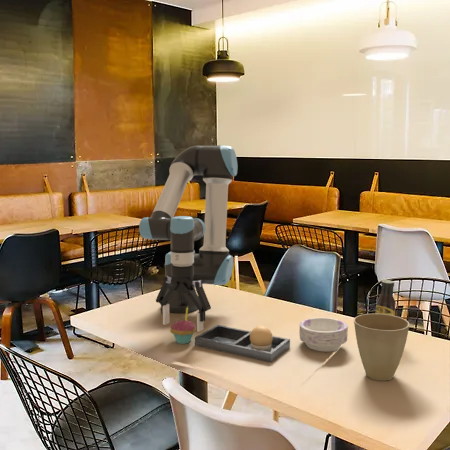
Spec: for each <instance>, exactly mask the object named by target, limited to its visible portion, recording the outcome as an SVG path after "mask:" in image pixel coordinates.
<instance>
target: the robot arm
mask: <svg viewBox="0 0 450 450" xmlns="http://www.w3.org/2000/svg"><path fill="white" fill-rule="evenodd" d="M238 167H239V165H238V159H237V155H236V151H235V150H234V148H233V146H230V145H221V144H220V145H218V144H217V145H193V146H189V147H187V148H186V149H184V150H183V151H181V152H180V153H179V154H177V156H176V157H175V158H174V159H173V161H172V162H171V163H170V167H169V168H168V169H169V171H168V172H169V175H168V177H167V180H166V182H165V184H164V185H163V186H164V187H163V188H162V191H161V193H160V196H159V198H158V200H157V202H156V205H155V206H154V209H153V211H152V212H151V213H152V214H151V215H150V217H149V216H147V217H142V218H141V219H140V222H139V228H138V229H139V231H138V232H139V235H140V237H141V239H142V238H143V239H147V240H153V241H154V240H159V241H170V251H169V252H168V253H166V254H165V257H164V258H165V259H164V261H165V262H164V271H165V272H164V274H165V275H164V277H163V281H162V285H161V286H160V290H159V291H158V294H157V296H156V298H155V303H158V304H160V313H161V315H162V325H164V326H166V325H167V324H168V325H169V324H170V313H173V314H186V308H187V306H188V313H192V312H195V311H196V332H198V333H200V332H202V331H203V330H204V322H205V321H206V312H207V311H209V310H211V309H212V307H211V304H210V301H209V299H208V297H207V294H206V292H205V289H204V287H203V285H214V286H218V285H219V286H224V285H226V284H228V283H229V281H230V280H231V277H232V274H233V270H234V269H233V268H234V257H233V255H231V254H230V250H229V249H228V248H227V247H226V246H227V245H226V243H227V242H226V239H227V221H228V220H227V218H228V201H229V200H228V199H229V198H228V197H229V196H228V195H229V185H230V184H231V183H232V182H233V177H236V176H237V174H238ZM194 176H202V181H203V182H204V183H205V184H206V185H205V208H204V220H202V219H200V218H198V217H192V216H189V215H187V216H186V215H179V216H175V214H176V213H177V210H178V207H179V205H180V202H181V201H182V197H183V195H184V192H185V190H186V188H187V185H188V183H189V182H190V181H192V179H193V178H194ZM201 238H203V245H202V246H201V247H200V248H199V249H198V250H199V251H198V252H199V253H196V251H195V249H194V248H195V242H196V241H198V240H201ZM197 310H198V311H197Z"/></svg>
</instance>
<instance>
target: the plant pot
mask: <svg viewBox="0 0 450 450" xmlns="http://www.w3.org/2000/svg"><path fill="white" fill-rule="evenodd" d="M353 324H354V332H355V338H356V339H355V340H356V344H357V348H358V353H359V357H360V360H361V364H362V366H363V370H364V372H365V374H366V377H368V378H370V379H372V380H374V381H390V380H392V379H394V375H395V374H396V371H397V369H398V367H399V365H400V362H401V360H402V356H403V354H404V349H405V347H406V344H407V339H408V334H409V330H410V322H409V321H408V320H406V319H405V318H402V317H400V316H396V315H395V316H393V315H388V314H376V313H364V314H359V315H357V316H355V317H354V319H353Z"/></svg>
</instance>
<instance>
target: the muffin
mask: <svg viewBox="0 0 450 450" xmlns="http://www.w3.org/2000/svg"><path fill="white" fill-rule="evenodd" d="M273 336H274V335H273V332H272V331H271V329H269V328H268V327H267V326H264V325H258V326H256V327H253V329H251V333H250V342H251V348H253V349H257V350H262V351H267V352H270V351H271V343H272V340H273Z"/></svg>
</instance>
